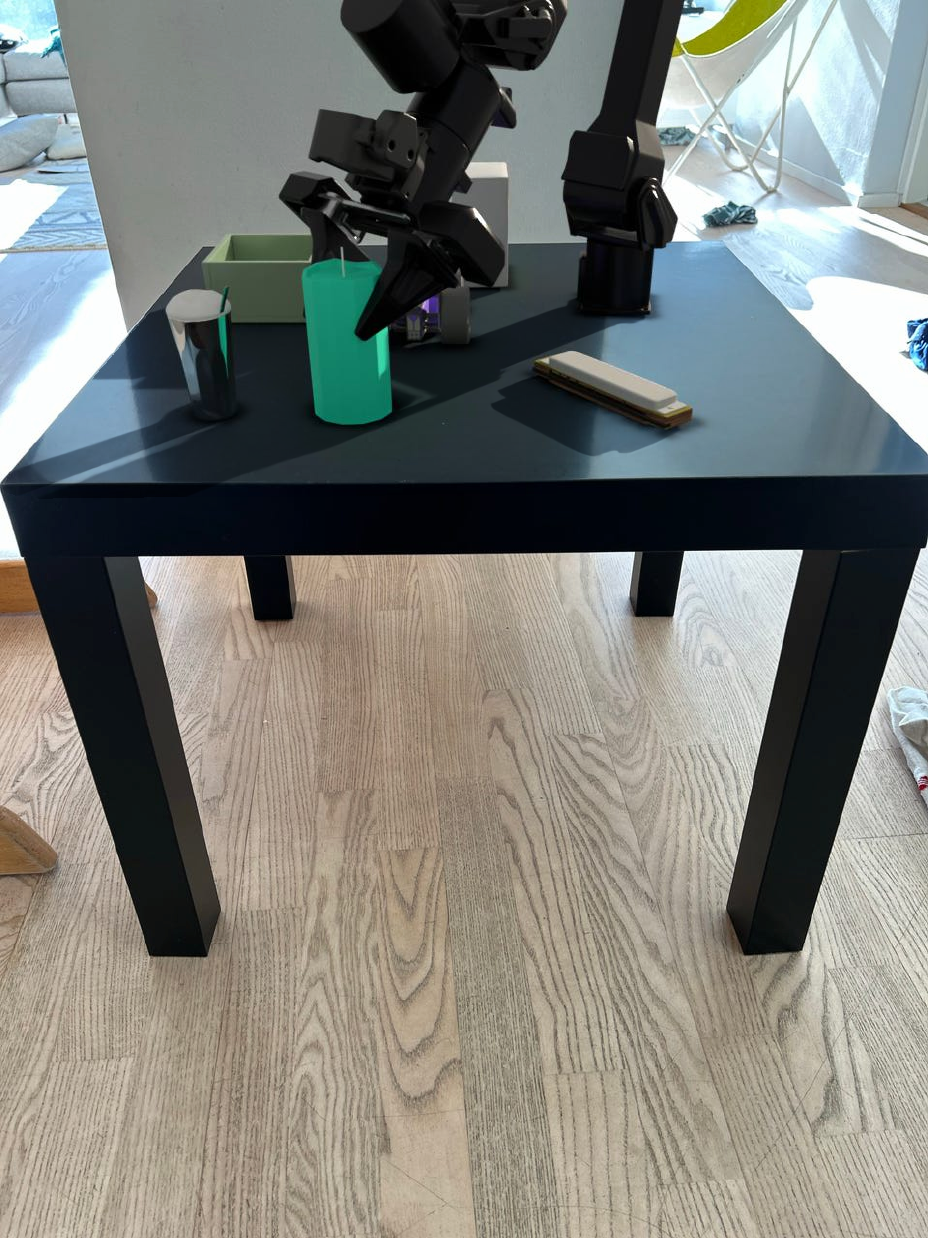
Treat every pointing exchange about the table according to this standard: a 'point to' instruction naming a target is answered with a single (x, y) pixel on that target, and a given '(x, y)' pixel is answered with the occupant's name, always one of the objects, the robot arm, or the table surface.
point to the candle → (345, 343)
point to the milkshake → (205, 350)
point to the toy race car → (439, 316)
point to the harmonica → (614, 389)
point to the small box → (489, 204)
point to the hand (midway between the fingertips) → (332, 328)
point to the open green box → (260, 275)
